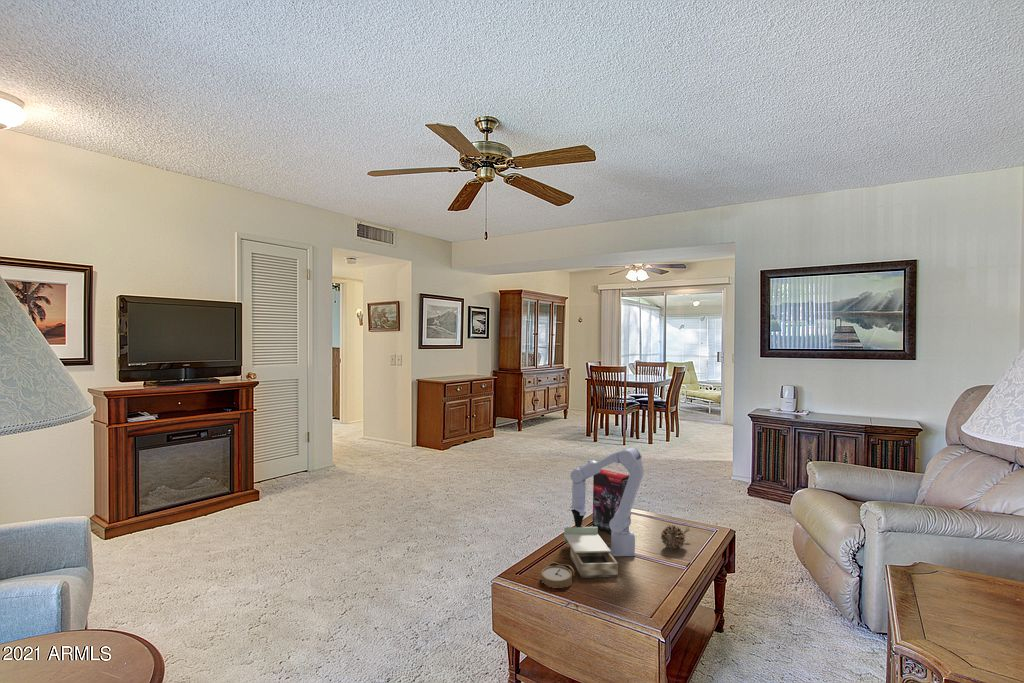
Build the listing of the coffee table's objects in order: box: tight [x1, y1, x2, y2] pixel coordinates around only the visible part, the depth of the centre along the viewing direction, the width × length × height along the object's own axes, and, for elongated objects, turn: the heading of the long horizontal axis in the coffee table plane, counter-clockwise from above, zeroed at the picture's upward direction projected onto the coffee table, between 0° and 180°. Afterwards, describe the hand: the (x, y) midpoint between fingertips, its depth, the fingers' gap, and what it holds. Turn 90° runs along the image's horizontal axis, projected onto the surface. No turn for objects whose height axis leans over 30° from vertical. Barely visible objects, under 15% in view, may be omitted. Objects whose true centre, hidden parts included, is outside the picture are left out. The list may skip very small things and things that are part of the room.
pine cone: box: [660, 524, 691, 550], centre depth 223 cm, size 22×10×10 cm, turn 140°
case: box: [569, 546, 619, 579], centre depth 199 cm, size 14×18×5 cm
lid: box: [563, 526, 611, 553], centre depth 209 cm, size 14×20×6 cm
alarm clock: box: [540, 562, 575, 589], centre depth 187 cm, size 11×5×15 cm
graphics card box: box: [591, 468, 630, 534], centre depth 239 cm, size 17×7×27 cm, turn 43°
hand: (578, 526), depth 224 cm, fingers closed
